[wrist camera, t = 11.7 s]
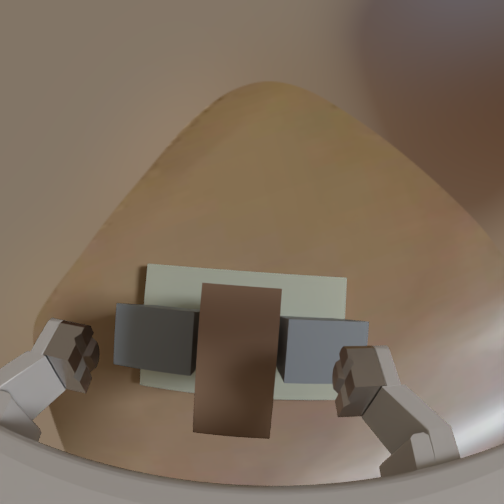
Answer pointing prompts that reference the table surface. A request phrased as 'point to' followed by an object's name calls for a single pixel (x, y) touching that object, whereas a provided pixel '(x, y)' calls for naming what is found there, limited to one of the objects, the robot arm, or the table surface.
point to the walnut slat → (236, 360)
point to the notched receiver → (187, 324)
